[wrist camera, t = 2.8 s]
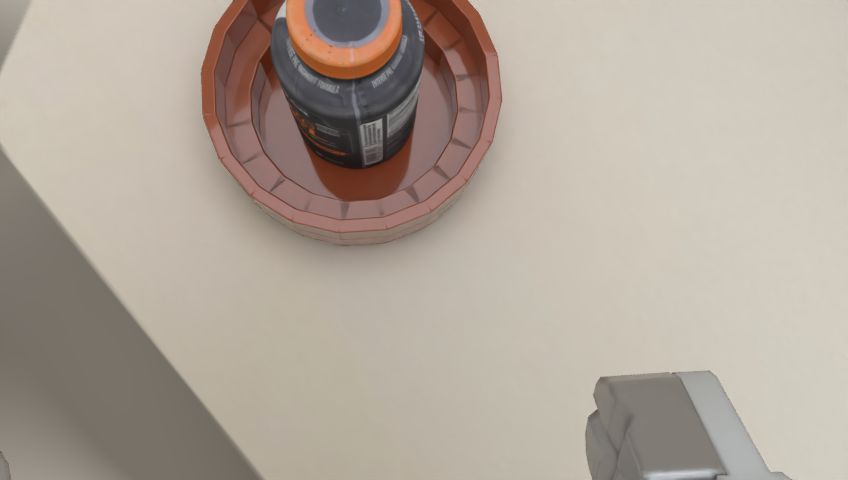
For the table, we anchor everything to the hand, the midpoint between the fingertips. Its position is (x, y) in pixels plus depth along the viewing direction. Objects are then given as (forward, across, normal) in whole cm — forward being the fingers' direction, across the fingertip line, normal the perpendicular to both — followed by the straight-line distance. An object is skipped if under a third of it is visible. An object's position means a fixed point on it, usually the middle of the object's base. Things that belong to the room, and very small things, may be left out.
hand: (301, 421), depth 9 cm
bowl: (+26, 0, +8) cm, 27 cm away
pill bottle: (+26, 0, +8) cm, 27 cm away
